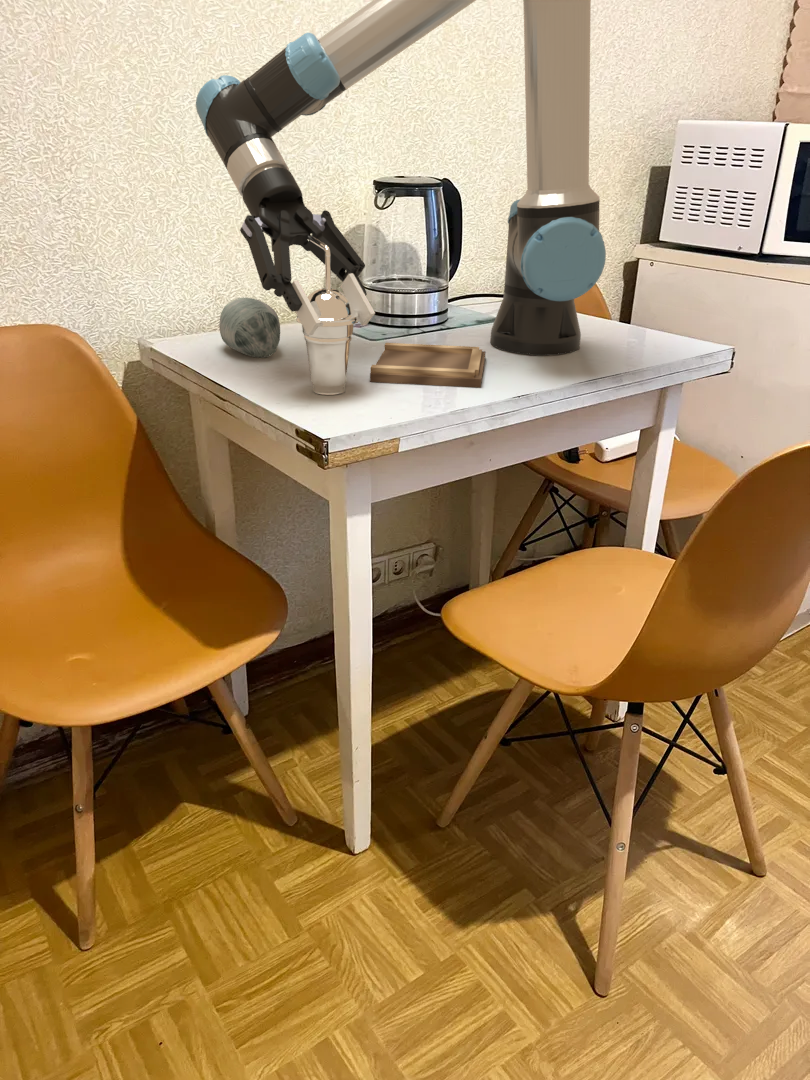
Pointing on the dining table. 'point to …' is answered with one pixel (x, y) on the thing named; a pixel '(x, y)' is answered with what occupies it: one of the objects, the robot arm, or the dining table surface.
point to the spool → (250, 327)
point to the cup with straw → (329, 334)
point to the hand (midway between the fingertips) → (342, 324)
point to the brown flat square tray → (429, 365)
